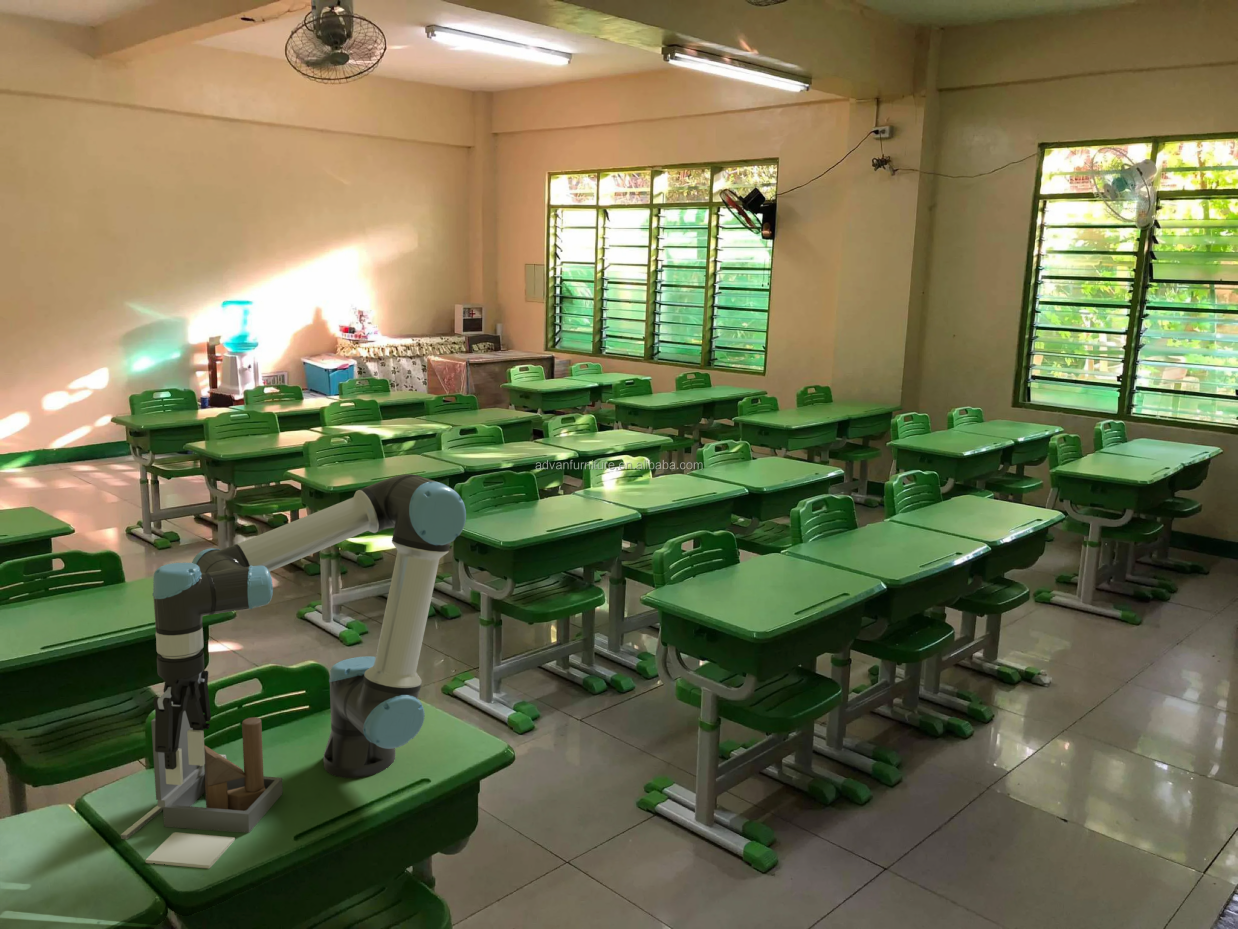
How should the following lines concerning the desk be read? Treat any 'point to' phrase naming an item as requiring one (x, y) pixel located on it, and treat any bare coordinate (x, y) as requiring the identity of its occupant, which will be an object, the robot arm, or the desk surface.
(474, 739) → the desk surface
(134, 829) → the rod
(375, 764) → the robot arm
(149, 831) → the desk surface
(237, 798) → the wooden toy pieces
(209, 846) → the mat
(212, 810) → the case
